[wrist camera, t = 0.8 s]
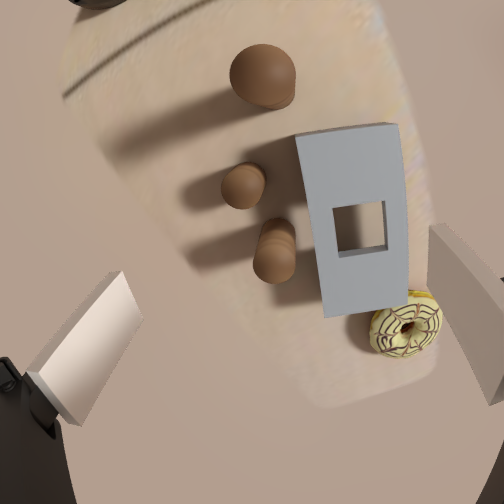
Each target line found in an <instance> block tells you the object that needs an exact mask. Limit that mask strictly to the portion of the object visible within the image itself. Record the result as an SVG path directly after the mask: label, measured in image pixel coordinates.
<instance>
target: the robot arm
mask: <svg viewBox="0 0 504 504" xmlns="http://www.w3.org/2000/svg"><path fill="white" fill-rule="evenodd" d="M69 1H70V2H72V3H73V4H76V5H78V6H81V7H84V8H87V9H104V8H108V7H111V6H114V5H117V4H119V3H121V2H123V1H125V0H69ZM427 287H428V289H429V290H430V292H431V294H432V295H433V297H434V299H435V300H436V302H437V304H438V305H439V307H440V309H441V311H442V312H443V314H444V316H445V318H446V319H447V321H448V323H449V325H450V327H451V328H452V330H453V332H454V334H455V336H456V338H457V340H458V342H459V344H460V345H461V347H462V349H463V351H464V353H465V355H466V357H467V359H468V361H469V363H470V365H471V368H472V370H473V372H474V374H475V376H476V378H477V380H478V382H479V384H480V387H481V389H482V391H483V393H484V396H485V398H486V400H487V403H488V405H489V406H490V405H493V404H496V403H498V402H501V401H503V400H504V277H503V278H499V277H498V276H497V275H496V274H495V273H494V271H493V270H492V269H491V268H490V267H489V266H488V265H487V264H486V263H485V262H484V261H483V260H482V259H481V258H480V257H479V256H478V255H477V254H476V253H475V252H474V250H472V248H471V247H469V245H468V244H466V242H464V241H463V240H462V239H461V238H460V237H459V236H458V235H457V234H456V233H455V232H454V231H453V230H452V229H451V228H450V227H449V226H448V225H447V224H445V223H444V224H437V225H430V226H429V249H428V272H427ZM142 322H143V317H142V315H141V313H140V311H139V308H138V306H137V304H136V302H135V300H134V298H133V295H132V293H131V291H130V288H129V286H128V284H127V282H126V279H125V277H124V274H123V272H122V271H119V272H111V273H109V274H108V275H107V276H106V277H105V278H104V279H103V280H102V281H101V282H100V283H99V284H98V286H97V287H96V288H95V289H94V290H93V291H92V292H91V293H90V294H89V295H88V297H87V298H86V299H85V300H84V301H83V302H82V303H81V305H80V306H79V307H78V308H77V309H76V310H75V311H74V312H73V313H72V315H71V316H70V317H69V318H68V320H66V322H65V323H64V324H63V325H62V326H61V328H60V329H59V330H58V331H57V332H56V333H55V335H54V336H53V337H52V338H51V339H50V341H49V342H48V343H47V344H46V346H45V347H44V348H43V349H42V350H41V352H40V353H39V354H38V355H37V357H36V358H35V359H34V361H33V362H32V363H31V364H30V366H29V367H28V368H27V369H26V372H25V374H24V375H23V376H21V375H20V373H19V372H18V370H17V369H16V368H15V366H14V365H13V363H12V362H11V360H10V359H9V358H8V357H1V358H0V504H77V503H76V499H75V495H74V491H73V487H72V483H71V479H70V474H69V470H68V465H67V460H66V455H65V450H64V444H63V438H62V431H61V425H60V423H59V421H58V420H57V419H56V417H57V415H58V414H60V415H61V416H62V417H63V418H64V419H65V421H66V422H67V423H69V424H73V425H77V426H82V425H83V423H84V421H85V419H86V418H87V416H88V414H89V412H90V410H91V409H92V407H93V405H94V403H95V401H96V400H97V398H98V396H99V394H100V392H101V391H102V389H103V387H104V386H105V384H106V382H107V380H108V379H109V377H110V375H111V373H112V371H113V370H114V368H115V367H116V365H117V363H118V361H119V360H120V358H121V356H122V355H123V353H124V351H125V350H126V348H127V346H128V345H129V343H130V341H131V340H132V338H133V336H134V335H135V333H136V331H137V329H138V328H139V327H140V325H141V323H142ZM476 504H504V442H503V444H502V447H501V449H500V452H499V454H498V457H497V459H496V462H495V464H494V467H493V469H492V471H491V473H490V475H489V478H488V480H487V482H486V484H485V486H484V488H483V490H482V492H481V494H480V496H479V498H478V500H477V502H476Z"/></svg>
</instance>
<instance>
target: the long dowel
mask: <svg viewBox="0 0 504 504" xmlns="http://www.w3.org/2000/svg"><path fill="white" fill-rule="evenodd" d="M295 79H296V72H295V67H294V64H293V62H292V60H291V58H290V57H289V56H288V55H287V54H286V53H285V52H284V51H283V50H281V49H280V48H277V47H275V46H272V45H267V44H258V45H253V46H250V47H248V48H246V49H244V50H243V51H241V52H240V53H239V54H238V55H237V56H236V57H235V59H234V60H233V62H232V65H231V68H230V82H231V85H232V87H233V89H234V91H235V92H236V93H237V94H238V96H240V97H241V98H242V99H244V100H245V101H247V102H249V103H252V104H256V105H259V106H263V107H266V108H269V109H274V110H278V109H283V108H285V107H287V106H288V105H289V104H290V103H291V102H292V100H293V98H294V95H295Z"/></svg>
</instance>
